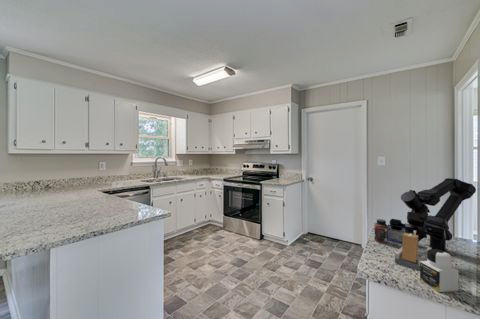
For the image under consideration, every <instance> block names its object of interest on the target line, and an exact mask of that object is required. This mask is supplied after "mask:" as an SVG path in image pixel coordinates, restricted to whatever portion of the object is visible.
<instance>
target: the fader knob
mask: <svg viewBox="0 0 480 319" xmlns="http://www.w3.org/2000/svg"><path fill="white" fill-rule="evenodd" d="M401 245H402V246H401V247H402V259H405V260H408V261H411V262H415V263H416V262H417V260H418V249H419V242H418V235H416V234H414V235H413V234H411V233H410V234H409V233H404V234H403V240H402V243H401Z"/></svg>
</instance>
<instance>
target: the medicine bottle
mask: <svg viewBox="0 0 480 319" xmlns="http://www.w3.org/2000/svg"><path fill="white" fill-rule="evenodd" d="M451 261H452V256H451V254H449V252H448V251H447V252H445V251H442V250H438V249H429V250H428V251H427V261H420V272H419V280H420V281H421V282H422V283H423V284H425V285H427V286H428V287H430V288H432V289H433V290H435V291H436V292H438V293H443V292H444V293H445V292H458V291H459V269H457V268H454V267H452V265H451V264H452V262H451Z"/></svg>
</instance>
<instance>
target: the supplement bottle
mask: <svg viewBox="0 0 480 319" xmlns="http://www.w3.org/2000/svg"><path fill="white" fill-rule="evenodd" d="M374 241H376V242H377V243H380V244H388V242H389V241H388V224H387V221H386V220H385V219H380V218H378V219H376V223H374Z"/></svg>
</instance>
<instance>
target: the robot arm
mask: <svg viewBox="0 0 480 319" xmlns="http://www.w3.org/2000/svg"><path fill="white" fill-rule="evenodd" d="M476 189H477V188H476V186H475V185H473V183H469V182H466V181H462V180H461V179H458V178H450V177H447V178H445V179H444V180H443V181H441V182H440V183H438V184H437V185H435V186H433V187H432V188H429V189H423V190H420V191H418V192H417V191H416V190H414V189H409V190H408V191H406V192H403V193H402V194H401V195H400V200H401V201H402V202H403V203H404V204H405V205H406V207H408V208H409V209H411V211H407V212H406V213H407V214H406V219H407V220H406V222H407V223H402V219H397V218H391V219H390V220H389V223H390V226H391V228H392V229H393V230H398V231H401V230H402V228H404V229H405V232H406V233H409V234H410V233H411V234H413V235H418V243H419V242H420V241H422V240H423V239H427V238H428V236H429V245H428V246H427V248H428V247H431V248H432V249H438V250H442V251H445V252H447V253H448V250H449V249H448V248H447V247H446V246H447V241H449V242H450V241H451V240H452V238H453V234H452V232H450V230H449V229H450V226H449V221H450V220H451V218H452V217H453V215H454V214H455V213H456V211H457V210H458V208H459V207H460V206H461V204H462V203H463V202H464V201H465V200H469V199H470V198H472V197H473V195H475V193H476V191H477V190H476ZM448 193H449V194H450V195H449V196H448V197H447V199H446V200H445V201H444V202H443V204H442V206H441V207H440V209H439V210H438V211H437V213H436V214H435V215H429V214H430V213H431V211H430V209H429V207H428V206H433V207H435V206H436V205H438V204H439V203H440V202H441V197H443V196H445V195H446V194H448ZM414 231H415V232H414Z"/></svg>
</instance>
